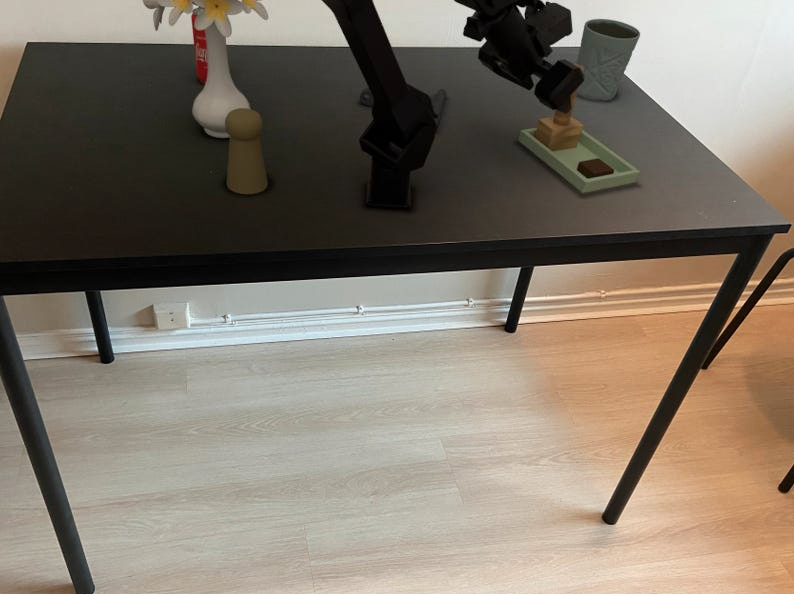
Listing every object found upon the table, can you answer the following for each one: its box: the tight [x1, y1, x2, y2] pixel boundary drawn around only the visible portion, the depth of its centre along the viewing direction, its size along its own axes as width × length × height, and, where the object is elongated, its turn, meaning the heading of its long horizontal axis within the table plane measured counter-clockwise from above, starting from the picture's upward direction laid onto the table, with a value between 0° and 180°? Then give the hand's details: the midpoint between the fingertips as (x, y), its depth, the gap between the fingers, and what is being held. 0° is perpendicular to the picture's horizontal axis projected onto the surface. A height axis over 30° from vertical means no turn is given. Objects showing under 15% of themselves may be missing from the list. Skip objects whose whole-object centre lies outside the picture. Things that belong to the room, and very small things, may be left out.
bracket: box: [359, 87, 447, 128], centre depth 126 cm, size 14×15×3 cm
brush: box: [535, 63, 585, 151], centre depth 115 cm, size 6×4×13 cm
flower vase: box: [142, 0, 269, 139], centre depth 108 cm, size 13×18×25 cm
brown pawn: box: [225, 108, 269, 195], centre depth 101 cm, size 6×6×11 cm
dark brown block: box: [577, 158, 614, 179], centre depth 112 cm, size 4×4×2 cm
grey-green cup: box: [576, 18, 641, 102], centre depth 134 cm, size 10×10×12 cm
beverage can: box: [190, 7, 208, 85], centre depth 127 cm, size 5×5×12 cm
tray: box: [518, 127, 641, 194], centre depth 116 cm, size 18×11×2 cm, turn 24°
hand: (549, 99), depth 112 cm, fingers open, 9 cm apart
